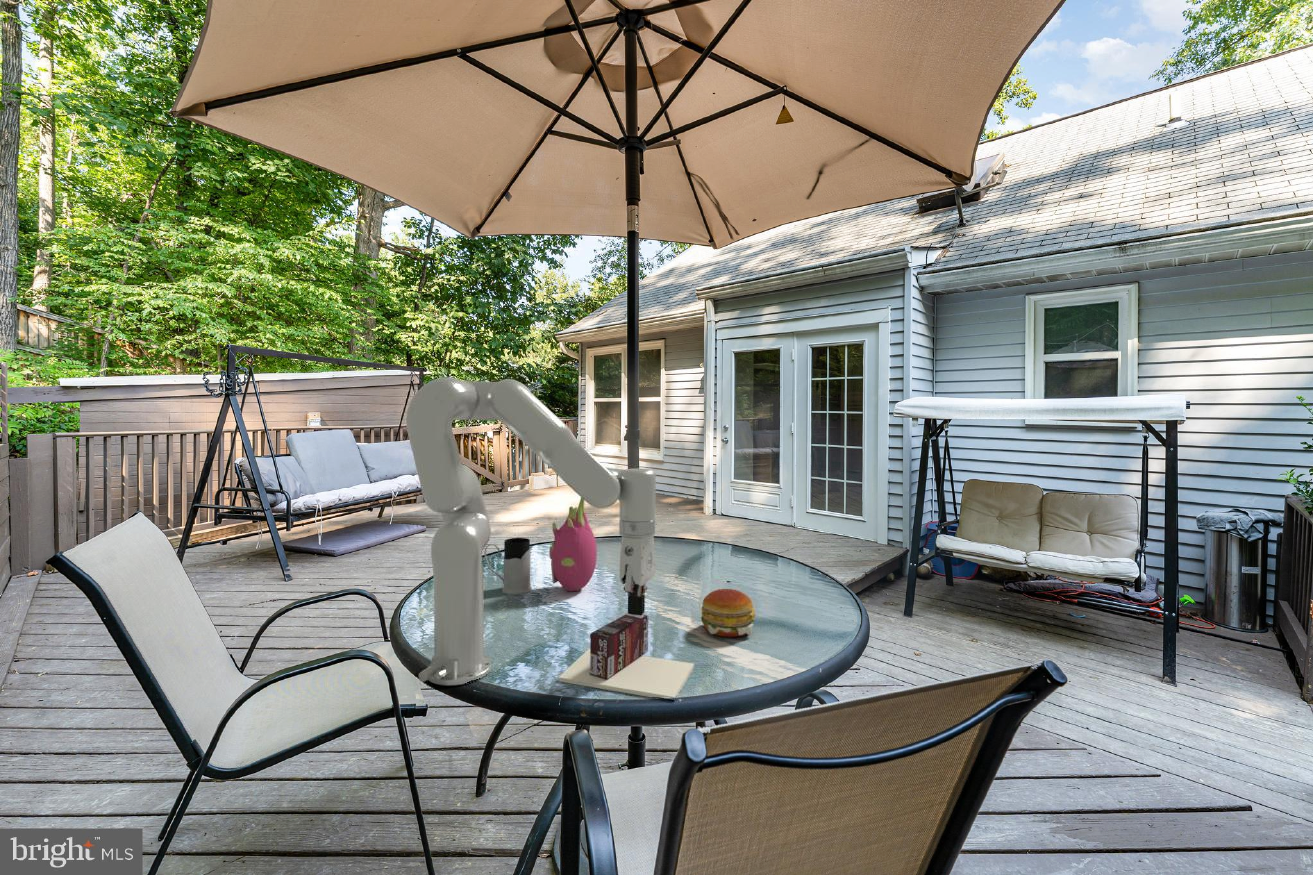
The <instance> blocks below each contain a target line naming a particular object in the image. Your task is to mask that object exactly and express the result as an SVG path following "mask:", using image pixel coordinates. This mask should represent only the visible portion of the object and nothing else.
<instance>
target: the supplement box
mask: <svg viewBox="0 0 1313 875" xmlns="http://www.w3.org/2000/svg"><path fill="white" fill-rule="evenodd" d="M649 617H650V615H649V614H647V613H643V614H642V615H641V616H640V615H632V614H628V612H627V613H626V614H624V615H621V616H620V617H618V618H616V619H614V620H613V621H611V622H609V623H607V624H605V625H603V626H602V627H600V628H598V629H596V630H594V631H593V632H590V633H589V640H590V646H589V648H590V671H589V674H590V675H593V676H596V677H600V678H603V679H606V680H608V679H609V678H611V677H612V676H613V675H615V674H616V673H618V672H619V671H621V670H622V669H623V668H625V667H626V666H628V665H629V664H631V663H632V662H633V661H635V660H636V659H638V658H639V657H641V656H645V654H646V653H648V652H649V622H650V620H649Z"/></svg>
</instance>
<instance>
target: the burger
mask: <svg viewBox="0 0 1313 875" xmlns="http://www.w3.org/2000/svg"><path fill="white" fill-rule="evenodd" d="M755 617H756V612H755V609H754V602H753V601H752V600H751V598H750V596H748V595H747V594H746V593H744V592H741V591H740V590H738V589H737V590H736V589H733V588H720V589H716V590H713V591H711V592H709V593H707V595H706V596H705V597H704V598H703V600H702V606H701V617H700V619H701V622H702V624H703V627H704V629H705V630H706V631H707V632H709V633H710V634H711V635H716V636H721V637H731V638H732V637H733V638H734V637H740V636H744V635H748V636H751V635H752V631H753V629H754V628H753V627H754V622H755V621H754V620H755Z"/></svg>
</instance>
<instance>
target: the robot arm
mask: <svg viewBox="0 0 1313 875" xmlns="http://www.w3.org/2000/svg"><path fill="white" fill-rule="evenodd" d="M471 420H472V421H499V422H501V424H503V425H504V426H505V427H506V428H507V429H508V430H509V431H511V432H512V433H513V434H514V436H516V437H517V438H518V439H519V440H521V442H522V443H524V445H525V446H527V447H528V448H529V449H530V450H531V451H532V452H534V454H535V455H536V456H537V457H538V458H539V459H541V461H542V462H543V463H544V464H545V465H546V466H548V467H549V468H550V469H551V470H552V471H553V473H555V474H556V475H557V476H558V477H559V478H560V479H561V480H562V481H563V482H564V483H565V484H566V485H567V486H568V487H569V488H571V489H572V490H573V491H574V492H575V494H577V495H578V496H579V497H580V499H581V498H583V499H584V500H585V503H587V504H589V505H590V506H592V507H594V508H598V509H605V508H606V509H607V508H609V507H612V506H613V505H614V504H616V502H617V501H619V520H618V521H619V525H618V526H619V527H618V528H619V529H618V530H619V531H618V532H619V536H621V545H620V556H619V559H620V560H619V580H620V583H621V584H622V585H625V587H624V592H625V593H627V613H628V614H632V615H640V616H641V615H642V614H645V611H646V610H645V609H646V608H645V606H646V605H645V603H646V601H645V600H646V599H645V597H646V594H645V593H646V586H647V585H646V584H647V582H649V581H650V580H651V579H652V578H653V577H654V576H655V574H656V552H655V551H656V550H655V549H656V548H655V538H654V536H655V535H656V486H657V485H656V482H657V481H656V479H657V478H656V473H655V472H654V471H653V470H652V469H649V468H626V469H623V468H622V469H621V468H620V469H619V468H612V467H606V466H604V465H603V464H602V463H601V462H600V461H599V460H598V459H597V458H595V456H594V455H592V453H591V452H589V451H588V450H587V449H586V448H585V447H584V445H582V443H580V441H579V440H578V439H577V438H576V436H575V435H574V434H573V432H572V430H571V428H569V426H567V425H566V424H565V423H564V421H563V420H561V419H560V418H559V417H558V416H557V415H556V414H555V413H554V412H552V410H550V409H549V408H548V407H547V406H546V405H545V404H544V403H543V402H542V401H541V400H539V399H538V398H537V397H536V395H534V394H533V393H532V392H531V390H530V389H529V388H528V386H526V384H523V383H522V382H520V381H518V380H516V379H511V378H505V379H500V380H499V381H473V380H472V381H471V380H462V379H458V378H454V377H448V376H443V377H439V378H436V379H435V378H434V379H432V380H431V381H429V382H427V383H425V384H424V385H422V386H421V387H420V388H419V389H418V390H417V392H415V394H414V395H413V397H412V398H411V400H410V401H409V405H408V406H407V410H406V419H405V423H406V429H407V430H406V431H407V435H408V439H409V440H408V441H409V443H410V447H411V451H412V454H413V460H414V464H415V469H416V473H417V477H418V481H419V484H420V488H421V494H422V496H423V500H424V502H425V504H426V506H427V507H428V508H429V509H430V510H431V511H432V512H435V513H437V514H440V515H441V518H442V521H443V522H442V523H443V524H441V526H439V527H438V529H437V531H435V534H434V535H433V538H432V541H431V545H430V547H431V548H430V556H431V565H432V573H433V608H434V609H433V613H434V614H433V616H434V617H433V618H434V620H433V625H434V627H433V636H434V637H433V638H434V640H433V642H434V643H433V645H434V646H433V650H434V651H433V652H434V654H433V655H434V656H431V663H430V664H429V665H428V666H427V667H426V668H425V669H423V670H422V671H421V672H419V673H418V680H420V682H423V683H424V682H426V681H429V682H430V683H431V684H432V683H433V684H435V685H439V686H459V685H460V686H461V685H464V684H465V683H466V684H468V683H467V682H469V681H471V680H474V679H478V680H480V679H482V678H484V677H486V674H487V675H488V674H489V673H490V671H491V669H492V661H491V659H490V658H489V657H487V656H485V655H484V642H485V641H484V640H485V639H484V634H485V633H484V627H485V626H484V617H485V616H484V611H485V610H484V608H485V607H484V606H485V603H484V601H485V600H484V595H485V594H484V569H483V568H484V567H483V550H485V548H486V547H487V546H488V543H489V541H490V538H491V533H492V530H491V524H490V518H489V515H488V510H487V506H486V504H485V499H484V495H483V491H482V487H481V483H480V480H479V478H478V476H477V474H476V473H475V472H474V470H473V469H471V468H470V467H469V466H467V465H465V464H463V462H462V459H461V456H460V452H459V447H458V446H459V445H458V443H457V440H456V438H455V437H456V436H455V434H454V431H453V421H471ZM479 678H480V679H479ZM466 684H465V685H466Z"/></svg>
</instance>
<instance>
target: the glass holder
mask: <svg viewBox="0 0 1313 875" xmlns="http://www.w3.org/2000/svg"><path fill="white" fill-rule="evenodd" d="M503 545H504V546H503V548H504V550H503V551H504V552H503V556H501V554H500V549H499V546H498V545H496V544H495V543H491V544H487V545H486V546H485V548H484V559H485V563H486V565H487V567H488V569H490V571H491V572H492V573H493V574H494V575H496V576H497V577H498V578H499V579H500V580H501V581H502V584H503V587H502V588H501V590H502V593H503V594H507V595H520V594H526V593H529V592H530V591H532V588H533V587H532V586H531V539H529V538H527V537H512V538H508V539H505V540H504V543H503ZM490 546H494V547H495V548H496V549H497V554H498V555H497V556H498V558H499V559H502V560H503V577H502V576H501V575H500V574H499V573H498V572H497V571H495V570H494V569H493V567H491V565H490V563H489V561H488V558H487V549H488V547H490Z"/></svg>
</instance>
